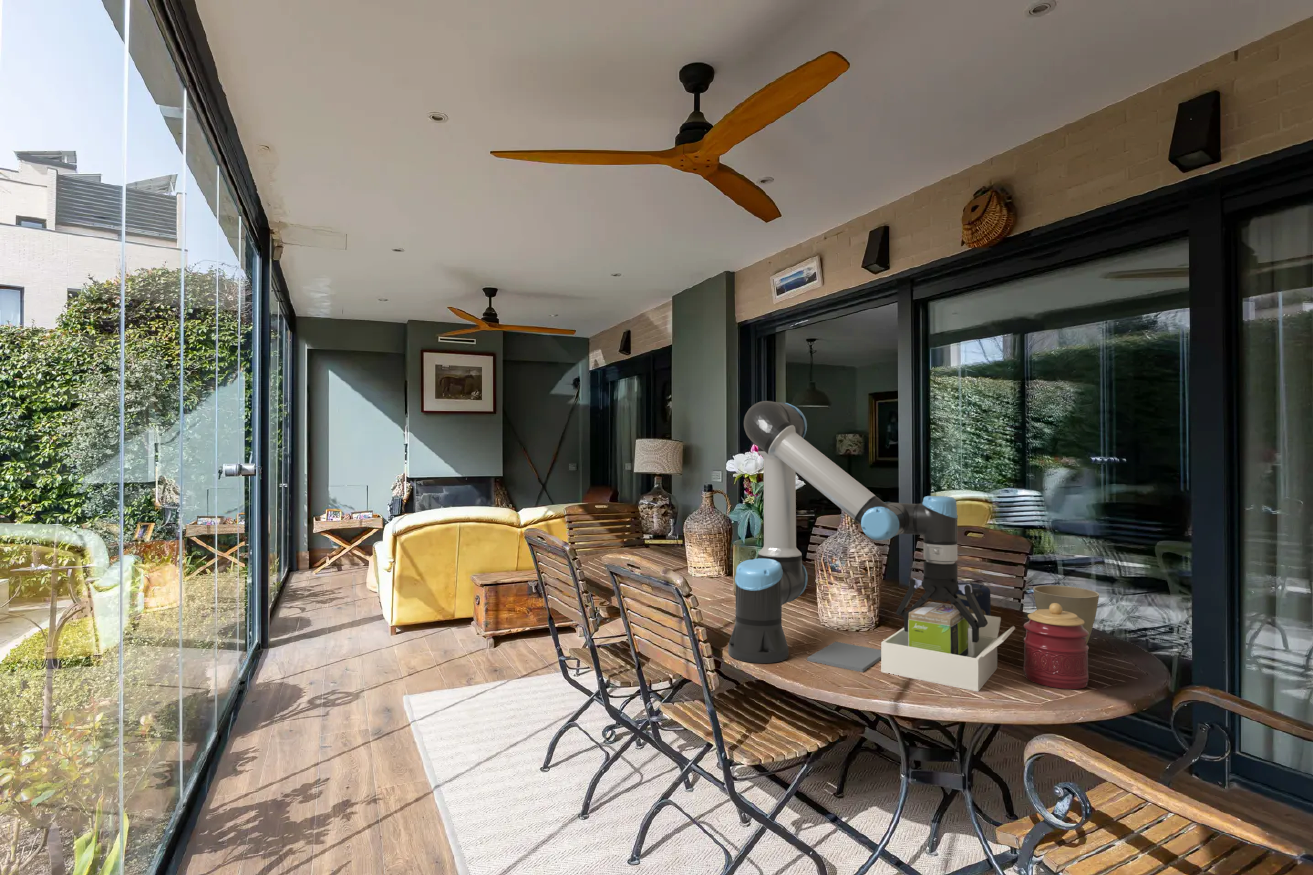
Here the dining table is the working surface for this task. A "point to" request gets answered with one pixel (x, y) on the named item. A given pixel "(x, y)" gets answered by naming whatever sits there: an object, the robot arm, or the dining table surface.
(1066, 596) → the plant pot
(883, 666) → the carton
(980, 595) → the canister
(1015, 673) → the dining table surface
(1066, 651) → the canister
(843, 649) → the mat
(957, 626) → the tea box
